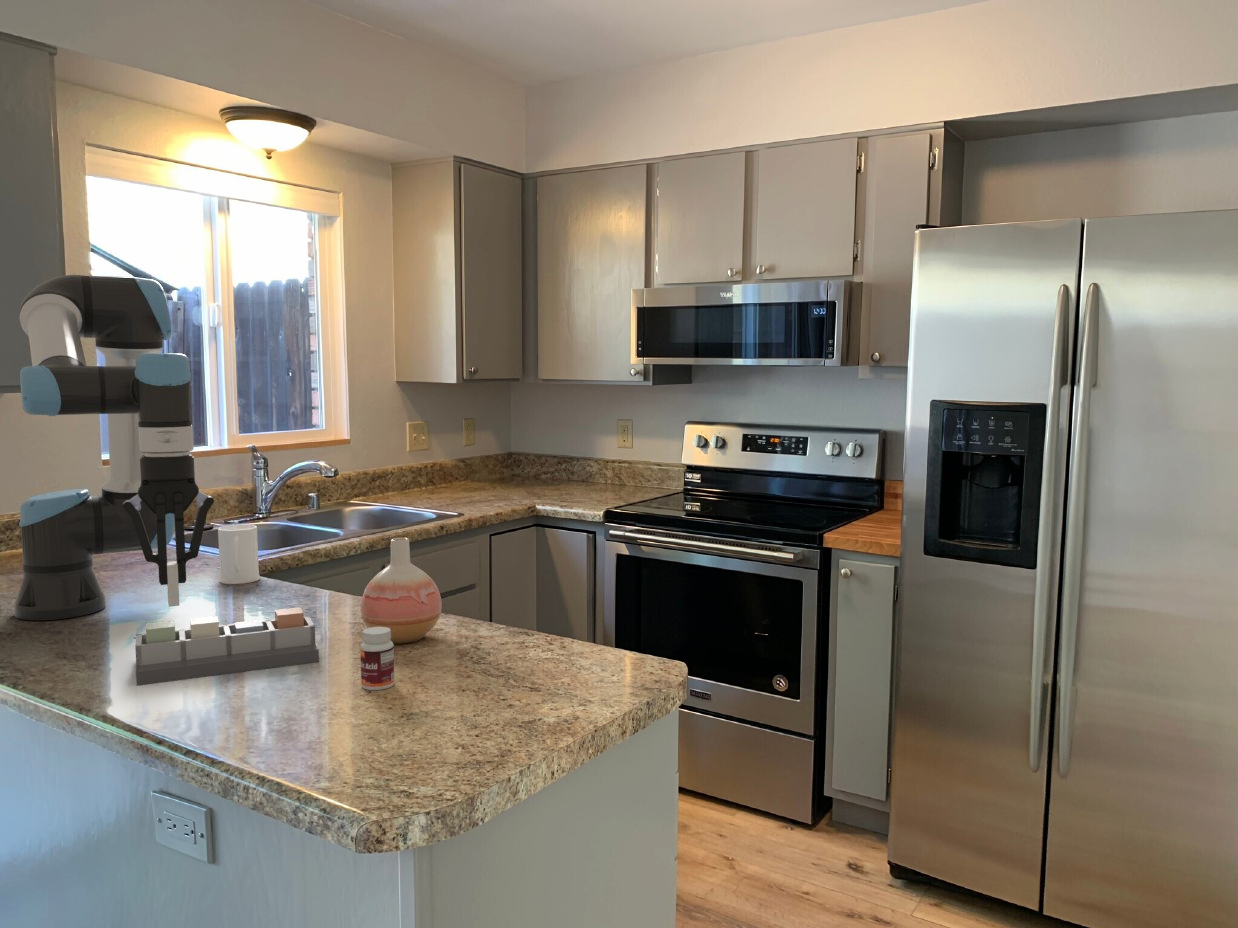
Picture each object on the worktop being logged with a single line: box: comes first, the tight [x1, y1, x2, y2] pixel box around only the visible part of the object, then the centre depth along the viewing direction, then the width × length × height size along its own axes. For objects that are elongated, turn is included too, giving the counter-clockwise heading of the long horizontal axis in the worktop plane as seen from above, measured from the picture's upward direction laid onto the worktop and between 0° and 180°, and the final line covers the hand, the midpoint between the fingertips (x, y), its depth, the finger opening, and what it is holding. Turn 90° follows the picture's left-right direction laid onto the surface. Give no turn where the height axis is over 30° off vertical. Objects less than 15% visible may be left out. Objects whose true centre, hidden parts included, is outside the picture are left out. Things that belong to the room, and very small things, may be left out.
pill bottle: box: [359, 627, 395, 691], centre depth 138 cm, size 5×5×8 cm
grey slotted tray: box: [134, 615, 320, 686], centre depth 150 cm, size 26×14×5 cm, turn 116°
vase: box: [360, 537, 443, 645], centre depth 162 cm, size 14×14×18 cm
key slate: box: [233, 619, 263, 634], centre depth 151 cm, size 4×4×3 cm
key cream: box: [189, 615, 220, 639], centre depth 148 cm, size 4×4×3 cm
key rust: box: [274, 607, 305, 629], centre depth 154 cm, size 4×4×3 cm
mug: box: [217, 524, 261, 585], centre depth 208 cm, size 12×8×12 cm
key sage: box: [145, 620, 176, 644], centre depth 146 cm, size 4×4×3 cm
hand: (173, 604), depth 146 cm, fingers closed
